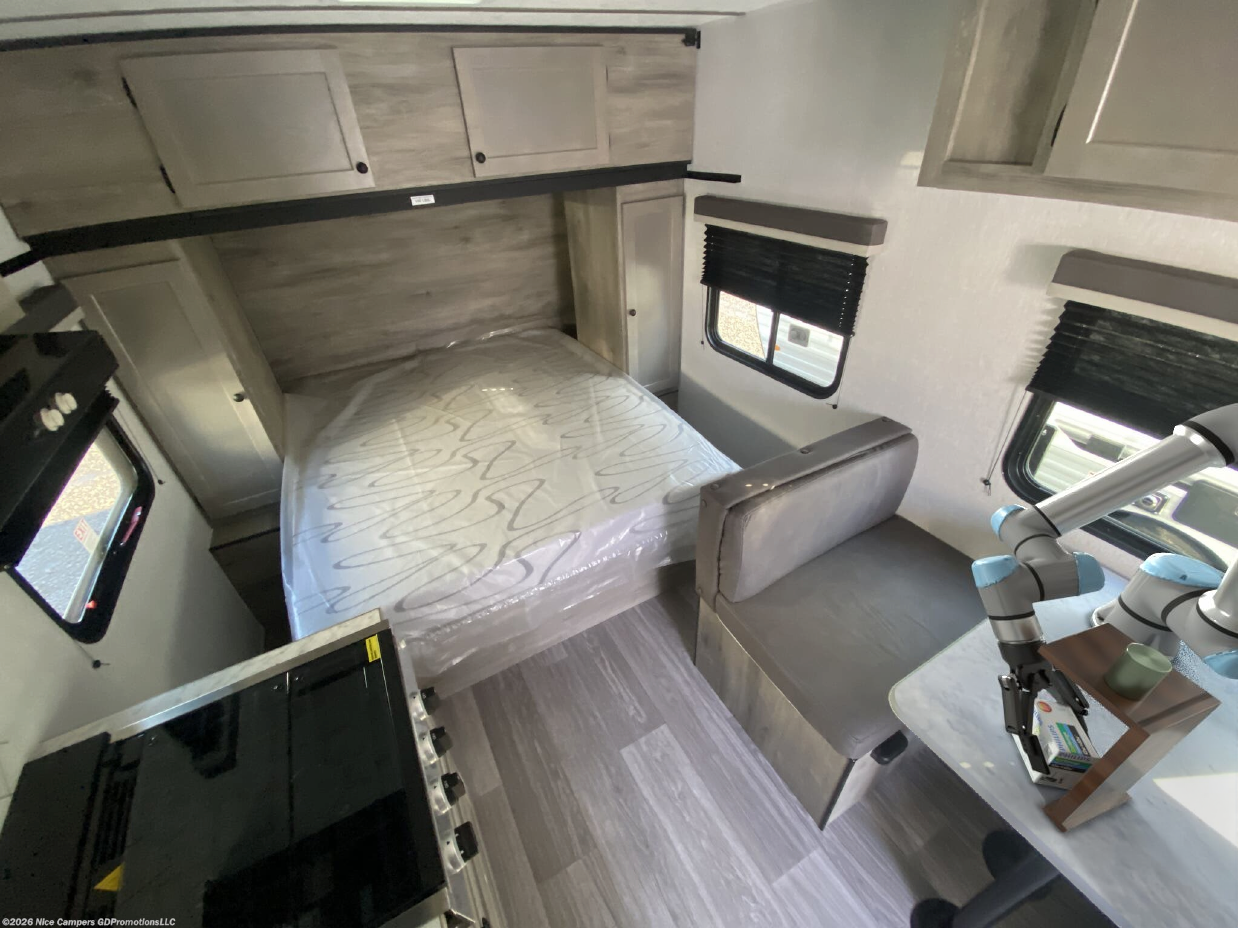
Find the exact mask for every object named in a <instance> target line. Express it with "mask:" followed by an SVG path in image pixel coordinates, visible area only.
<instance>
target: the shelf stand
mask: <svg viewBox="0 0 1238 928" xmlns="http://www.w3.org/2000/svg"><path fill="white" fill-rule="evenodd" d="M1038 652H1039V653H1040V654H1041V655H1042V656H1043V657H1045V658H1046V659H1047V660H1048V661H1049V662H1051V663H1052V664H1053V665H1054V666H1055V667H1057V668H1058V669H1059V670H1060V671H1061V672H1063V673H1064V674H1065V675H1066V676H1067V677H1069V678H1070V679H1071V680H1072V681H1073V682H1075V683H1076V685H1077V686H1078V688H1081V689H1082V690H1083V691H1084V692H1085V693H1087V694H1088V695H1089V696H1090V697H1091V698H1092V699H1094V700H1095V701H1096V702H1097V703H1098V704H1100V705H1101V706H1102V707H1103V708H1105V710H1107V711H1108V712H1110V714H1112V715H1113V716H1114V717H1115V718H1116V719H1118V720H1119V721H1120V722H1121V723H1123V724H1124V725H1125V726H1126V727H1127V728H1128V729H1127V730H1126V731H1125V732H1124V733H1123V734H1122V735H1121V736H1120V737H1119V738H1118V740H1117V741H1116V742H1115V743H1113V745H1111V747H1110V748H1109V749H1108V750H1107V751H1106V752H1105V753H1104V754H1103V755H1102V756H1100V758H1101V759H1100V760H1099V761H1098V762H1097V763H1096V764H1095V765H1094V766H1093V767H1092V768H1091V769H1090V770H1089V771H1088V772H1087V773H1086V774H1085V775H1084V776H1083V777H1082V778H1081V780H1080V781H1079V782H1078V783H1077V784H1076V785H1075V786H1074V787H1073V788H1072V789H1071V790H1068V792H1067V793H1066V794H1065V795H1064V796H1061V797H1059V798H1057V799H1055V800H1053V801H1051V802H1049V803H1047V804H1044V805H1043V806H1042V808H1041V810H1042V811H1043V812H1044V814H1046V815H1047V817H1049V819H1051V821H1052V822H1053V823H1054V824H1055V825H1056V826H1057V827H1058V828H1059V829H1060V831H1062V832H1063V833H1064V834H1066V833H1067V832H1069V831H1071V830H1073V829H1076V828H1078V827H1080V826H1082V825H1084V824H1086V823H1087V822H1091V820H1094V819H1096V818H1098V817H1100V816H1102V815H1104V814H1105V813H1108V812H1110V811H1112V810H1114V809H1116V808H1118V807H1120V806H1123V805H1125V804H1127V803H1128V802H1130V801H1131V800H1132V798H1133V797H1132V796H1131V795H1130V794H1128V793H1127V792H1128V791H1129V790H1130V789H1131V788H1132V787H1133V786H1135V784H1136V783H1138V782H1139V781H1140V780H1141V779H1142V778H1143V777H1144V776H1145V775H1146V774H1147V773H1148V772H1149V771H1150V770H1152V769H1153V768H1154V767H1156V765H1157V764H1158V763H1159V762H1161V760H1163V758H1165V757H1166V756H1167V755H1168V754H1169V753H1170V752H1171V751H1172V750H1173V749H1174V748H1175V747H1177V745H1178V744H1179V743H1181V742H1182V741H1183V740H1184V739H1185V738H1186V737H1187V736H1188V735H1190V733H1192V732H1193V731H1194V730H1195V729H1196V728H1197V727H1198V726H1200V724H1201V723H1202V722H1204V720H1206V719H1207V718H1208V717H1209V716H1210V715H1211V714H1212V713H1213V712H1214V711H1215V710H1216V709H1217V708H1218V707H1219V706H1221V705H1222V703H1223V701H1221V700H1220V699H1219V698H1217V697H1215V696H1214V695H1213V694H1211V693H1210V692H1208V691H1207V690H1205V689H1204V688H1203V687H1201V686H1200V685H1199V684H1197V683H1195V682H1194V681H1193V680H1191V679H1190V678H1188V677H1187V676H1185V675H1184V674H1182V673H1181V672H1180V671H1178V670H1177V669H1175V667H1173V664H1172V663H1171V661H1169V660H1168V659H1167V658H1166V657H1165V656H1164V655H1163V654H1161V653H1160V652H1158V651H1157V650H1155V649H1153V648H1151V647H1149V646H1146V645H1142V644H1138V643H1137V642H1136V641H1134V640H1133V639H1131V638H1130V637H1129V636H1127V635H1126V634H1124V633H1123V632H1121V631H1120V630H1119V629H1117V628H1116V627H1114V626H1113V625H1111V624H1110V623H1109V622H1107V623H1104V624H1101V625H1098V626H1095V627H1090V628H1087V629H1085V630H1082V631H1079V632H1075V633H1073V634H1071V635H1068V636H1065V637H1062V638H1059V639H1057V640H1054V641H1050V642H1048V643H1047V644H1045V645H1042V646H1041V647H1040V648H1039V650H1038Z"/></svg>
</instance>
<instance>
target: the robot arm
mask: <svg viewBox="0 0 1238 928" xmlns="http://www.w3.org/2000/svg"><path fill="white" fill-rule="evenodd" d="M1236 462H1238V402H1236V403H1231V404H1228V405H1224V406H1220V407H1217V408H1215V409H1212V410H1208V411H1206V412H1203V413H1201V414H1198V415H1196V416H1194V417H1192V418H1189V419H1187V420H1186V421H1184V422H1182V423H1179V424H1178V425H1176V426H1175V427H1174V430H1173V434H1171V435H1168V436H1167V437H1165V438H1163V439H1161V440H1160V441H1157V442H1155V443H1154V444H1151V445H1150V446H1148V447H1146V448H1144V449H1142V450H1140V451H1137V452H1136V453H1134V454H1132V455H1130V456H1127V457H1126V458H1124V459H1122V460H1120V461H1118V462H1115V463H1114V464H1112V465H1110V466H1108V467H1106V468H1105V469H1102V470H1101V471H1098V472H1096V473H1095V474H1093V475H1090V476H1088V477H1086V478H1085V479H1083V480H1080V481H1078V482H1077V483H1075V484H1073V485H1071V486H1070V487H1067V488H1065V489H1063V490H1061V491H1059V492H1058V493H1055V494H1053V495H1052V496H1049V497H1047V498H1045V499H1043V500H1042V501H1040V502H1038V503H1035V504H1033V505H1032V506H1030V507H1027V508H1026V507H1024V506H1022V505H1019V504H1011V505H1004V506H1002V507H1000V508H998V509H997V510H996V511H995V512H994V513H993V514H992V516H991V519H990V525H991V528H992V530H993V532H994V533H995V534H996V535H997V537H998V539H999V540H1000V542H1002V543H1003V544H1004V545H1005V546H1006V547H1007V549H1008V550H1009V551H1010V553H1012V554H1013V555H1014V556H1013V555H1008V554H1005V555H995V556H988V557H983V558H979V559H976V560H974V561H973V562H972V564H971V570H972V575H973V578H974V581H975V586H976V588H977V590H978V593H979V595H980V598H981V601H982V604H983V606H984V610H985V611H986V614H987V617H988V620H989V623H990V626H991V629H992V631H993V634H994V638H995V639H997V644H996V645H997V646H998V650H999V654H1000V656H1001V658H1002V660H1003V661H1004V662H1005V663H1006V664H1007V666H1008V667H1009V674H1006V675H1003V674H999V675H998V676H997V681H998V684H999V686H1000V690H1001V699H1002V708H1003V719H1004V720H1003V721H1004V729H1005V732H1006V733H1008V734H1011V735H1012V734H1015V735H1018V736H1019V739H1020V742H1021V745H1022V747H1023V751H1024V752H1025V753H1026V754H1027V756H1028V759H1029V761H1030V764H1031V767H1032V770H1033V771H1036V772H1039V773H1042V774H1045V775H1049V774H1051V773H1050V771H1049V768H1048V765H1047V762H1046V759H1045V756H1044V754H1043V751H1042V748H1041V745H1040V742H1039V740H1038V737H1037V735H1034V734H1032V730H1033V716H1034V702H1035V699H1038V695H1039V692H1042V691H1043V690H1045V691H1046V692H1047V693H1048V694H1049V695H1050V696H1051V697H1052V698H1053V699H1054V700H1055V702H1057V703H1063V704H1067V705H1069V706H1070V707H1071V708H1072V710H1073V712H1074V714H1075V716H1076V718H1077V719H1078V721H1079V723H1080V725H1081V727H1082V728H1083V730H1084V732H1085V733H1086V735H1087V737H1088V738H1089V740H1090V742H1091V743H1092V741H1091V738H1090V735H1089V728H1088V726H1087V722H1086V721H1085V717H1088V716H1089V714H1090V713H1089V711H1088V709H1090V703H1089V702H1088V699H1087V698H1086V697H1085V695H1084V693H1082V690H1081V689H1080V687H1079V686H1078V685H1077V684H1076V683H1075V682H1073V681H1072V680H1071V679H1070V678H1069V677H1067V676H1066V675H1065V674H1064V673H1063V672H1061V671H1060V670H1059V669H1058V668H1057V667H1055V666H1054V665H1053V664H1052V663H1051V662H1049V661H1048V660H1047V659H1046V658H1045V657H1043V656H1042V655H1041V654H1040V653H1039V652H1038V650H1039V648H1040V647H1041V646H1042V645H1045V644H1048V643H1047V640H1046V639H1045V638H1044V637H1043V635H1044V631H1043V629H1042V626H1041V623H1040V621H1039V619H1038V616H1037V614H1036V610H1035V608H1034V605H1033V604H1036V603H1043V602H1047V601H1054V600H1061V599H1067V598H1072V597H1080V596H1081V595H1082V596H1083V595H1085V594H1086V595H1087V594H1092V593H1096V592H1100V591H1101V590H1102V589H1104V587H1105V585H1106V584H1105V581H1106V575H1105V573H1104V570H1103V567H1102V565H1101V564H1100V562H1099V561H1098V560H1097V559H1096V558H1095V556H1094V555H1092V554H1090V553H1088V552H1086V551H1072V552H1068V551H1067V550H1066V549H1065V548H1064V547H1063V546H1062V545H1061V544H1060V543H1059V541H1057V539H1058V538H1061V537H1064V536H1065V535H1067V534H1069V533H1071V532H1073V531H1076V530H1078V529H1080V528H1082V527H1084V526H1087V525H1088V524H1091V523H1093V522H1095V521H1097V520H1099V519H1101V518H1104V517H1106V516H1108V515H1110V514H1112V513H1114V512H1116V511H1118V510H1121V509H1122V508H1123V509H1124V508H1125V507H1127V506H1129V505H1132V504H1134V503H1135V502H1138V501H1140V500H1141V499H1144V498H1147V497H1148V496H1150V495H1153V494H1155V493H1157V492H1159V491H1161V490H1163V489H1165V488H1167V487H1169V486H1172V485H1174V484H1177V483H1178V482H1180V481H1182V480H1184V479H1187V478H1189V477H1191V476H1193V475H1195V474H1197V473H1199V472H1202V471H1204V470H1206V469H1208V468H1215V469H1217V468H1218V469H1223V468H1225V467H1227V466H1229V465H1231V464H1233V463H1236ZM1016 559H1017V560H1016ZM1089 619H1090V620H1089V621H1090V626H1091V628H1093V627H1095V626H1098V625H1101V624H1104V623H1107V622H1109V623H1110V624H1111V625H1113V626H1114V627H1116V628H1117V629H1119V630H1120V631H1121V632H1123V633H1124V634H1126V635H1127V636H1129V637H1130V638H1131V639H1133V640H1134V641H1136V642H1137V643H1138V644H1142V645H1146V646H1149V647H1151V648H1153V649H1155V650H1157V651H1158V652H1160V653H1161V654H1163V655H1164V656H1165V657H1166V658H1167V659H1168V660H1169V661H1170V662H1171V661H1173V660H1174V659H1175V658H1176V657H1177V656H1178V654H1179V653H1180V647H1181V641H1182V642H1183V644H1185V645H1186V646H1187V648H1189V650H1191V652H1192V653H1194V654H1195V655H1196V656H1197V657H1198V658H1199V659H1200V660H1201V662H1202V663H1203V664H1204V665H1207V667H1209V668H1210V669H1211V670H1212V671H1214V672H1215V673H1216V674H1217V675H1219V676H1221V677H1223V678H1226V679H1231V680H1236V681H1237V680H1238V550H1237V551H1236V552H1235V555H1234V557H1233V559H1232V561H1231V562H1230V564H1229V567H1228V568H1227V570H1226V572H1225V574H1223V573H1222V572H1220V570H1218V569H1217V568H1215V567H1212V566H1211V565H1210V564H1208V563H1205V562H1203V561H1200V560H1197V559H1194V558H1191V557H1189V556H1185V555H1181V554H1177V553H1168V552H1167V553H1166V552H1161V553H1154V554H1152V555H1150V556H1149V557H1147V558H1146V560H1145V561H1144V562H1143V563H1142V564H1140V565H1139V567H1138V569H1137V570H1136V571H1135V573H1134V574H1133V575H1132V577H1131V578H1130V580H1129V581H1128V583H1127V584H1126V586H1125V587H1124V589H1122V591H1121V593H1120V594H1119V595H1118V597H1116V598H1114V599H1111V601H1109V602H1107V603H1105V604H1103V605H1101V606H1100V607H1098V608H1096V609H1095V610H1094V612H1093V613H1092V614H1091V616H1090V618H1089ZM1023 726H1024V728H1023Z"/></svg>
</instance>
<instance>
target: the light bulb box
mask: <svg viewBox="0 0 1238 928" xmlns="http://www.w3.org/2000/svg"><path fill="white" fill-rule="evenodd" d="M1023 728H1024V726H1023ZM1032 734H1034V735H1037V737H1038V740H1039V742H1040V745H1041V748H1042V751H1043V754H1044V756H1045V759H1046V762H1047V765H1048V768H1049V771H1050V773H1051V774H1049V775H1045V774H1042V773H1039V772H1036V771H1033V770H1032V767H1031V764H1030V761H1029V759H1028V756H1027V754H1026V753H1025V752H1024V751H1023V747H1022V745H1021V742H1020V739H1019V736H1018V735H1015V734H1011V735H1012V737H1013V740H1014V742H1015V745H1016V746H1017V749H1018V750H1019V753H1020V756H1021V757H1022V760H1023V762H1024V765H1025V767H1026V769H1027V771H1028V773H1029V776H1030V778H1031V780H1032V782H1033V783H1035V784H1039V785H1043V786H1049V787H1054V788H1059V789H1064V790H1068V791H1070V790H1071V789H1072V788H1073V787H1074V786H1075V785H1076V784H1077V783H1078V782H1079V781H1080V780H1081V778H1082V777H1083V776H1084V775H1085V774H1086V773H1087V772H1088V771H1089V770H1090V769H1091V768H1092V767H1093V766H1094V765H1095V764H1096V763H1097V762H1098V761H1099V760H1100V759H1101V756H1100V755H1099V753H1098V751H1097V749H1096V747H1095V746H1094V745H1093V743H1092V741H1091V742H1090V740H1091V739H1090V740H1089V738H1088V737H1087V735H1086V733H1085V732H1084V730H1083V728H1082V727H1081V725H1080V723H1079V721H1078V719H1077V718H1076V716H1075V714H1074V712H1073V710H1072V708H1071V707H1070V706H1069V705H1067V704H1063V703H1058V702H1057V701H1050V700H1045V699H1038V698H1035V702H1034V716H1033V730H1032Z"/></svg>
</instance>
